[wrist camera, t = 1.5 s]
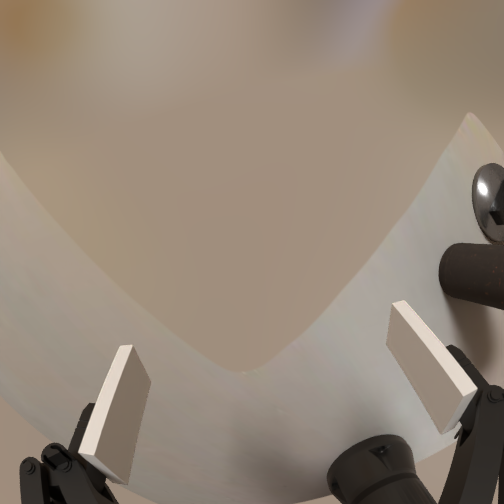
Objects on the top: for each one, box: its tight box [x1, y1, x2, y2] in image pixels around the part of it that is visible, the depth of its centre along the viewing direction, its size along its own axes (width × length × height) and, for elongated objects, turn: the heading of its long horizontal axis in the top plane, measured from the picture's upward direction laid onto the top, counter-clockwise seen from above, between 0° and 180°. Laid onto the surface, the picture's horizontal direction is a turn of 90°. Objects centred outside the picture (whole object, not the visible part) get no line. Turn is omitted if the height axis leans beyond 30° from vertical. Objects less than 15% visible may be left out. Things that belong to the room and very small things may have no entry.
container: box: [439, 243, 504, 310], centre depth 25 cm, size 9×9×20 cm
